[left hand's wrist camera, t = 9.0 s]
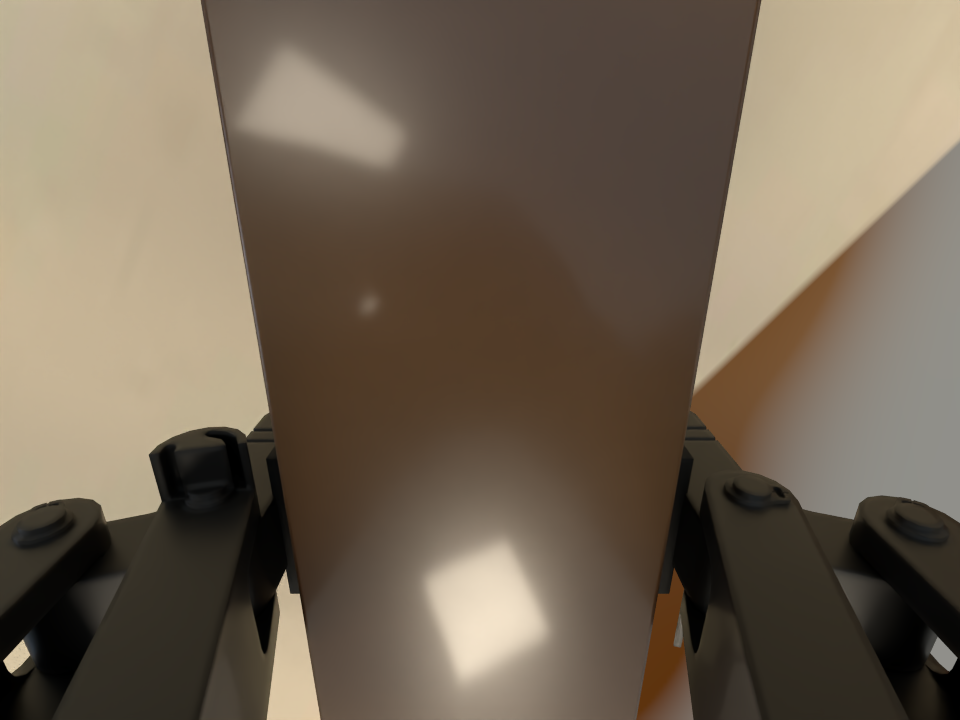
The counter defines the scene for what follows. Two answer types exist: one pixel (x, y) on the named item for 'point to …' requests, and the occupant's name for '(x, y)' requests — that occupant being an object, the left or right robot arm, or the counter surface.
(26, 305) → the counter surface
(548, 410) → the beam
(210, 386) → the counter surface
